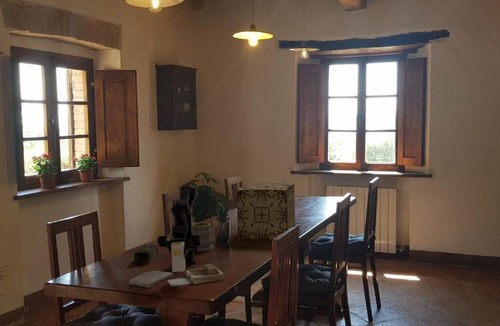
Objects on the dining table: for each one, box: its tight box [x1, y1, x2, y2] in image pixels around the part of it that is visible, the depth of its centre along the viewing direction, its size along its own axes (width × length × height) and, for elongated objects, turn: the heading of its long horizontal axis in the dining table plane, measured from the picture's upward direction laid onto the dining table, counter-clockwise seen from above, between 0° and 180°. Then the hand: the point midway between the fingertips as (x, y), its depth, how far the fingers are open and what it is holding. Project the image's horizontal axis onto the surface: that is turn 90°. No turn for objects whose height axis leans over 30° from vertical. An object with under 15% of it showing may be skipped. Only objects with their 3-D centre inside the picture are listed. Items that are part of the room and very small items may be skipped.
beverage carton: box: [133, 243, 159, 265], centre depth 267 cm, size 8×19×7 cm, turn 175°
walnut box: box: [203, 263, 218, 276], centre depth 235 cm, size 7×4×4 cm, turn 22°
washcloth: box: [128, 270, 174, 289], centre depth 231 cm, size 12×18×3 cm, turn 152°
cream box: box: [171, 242, 186, 273], centre depth 225 cm, size 5×5×12 cm
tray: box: [185, 267, 225, 285], centre depth 231 cm, size 14×14×3 cm
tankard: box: [192, 219, 215, 253], centre depth 289 cm, size 20×13×15 cm, turn 32°
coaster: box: [167, 277, 192, 287], centre depth 226 cm, size 9×9×1 cm
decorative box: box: [236, 182, 296, 241], centre depth 317 cm, size 30×30×30 cm
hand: (177, 257), depth 224 cm, fingers closed on cream box, 5 cm apart
